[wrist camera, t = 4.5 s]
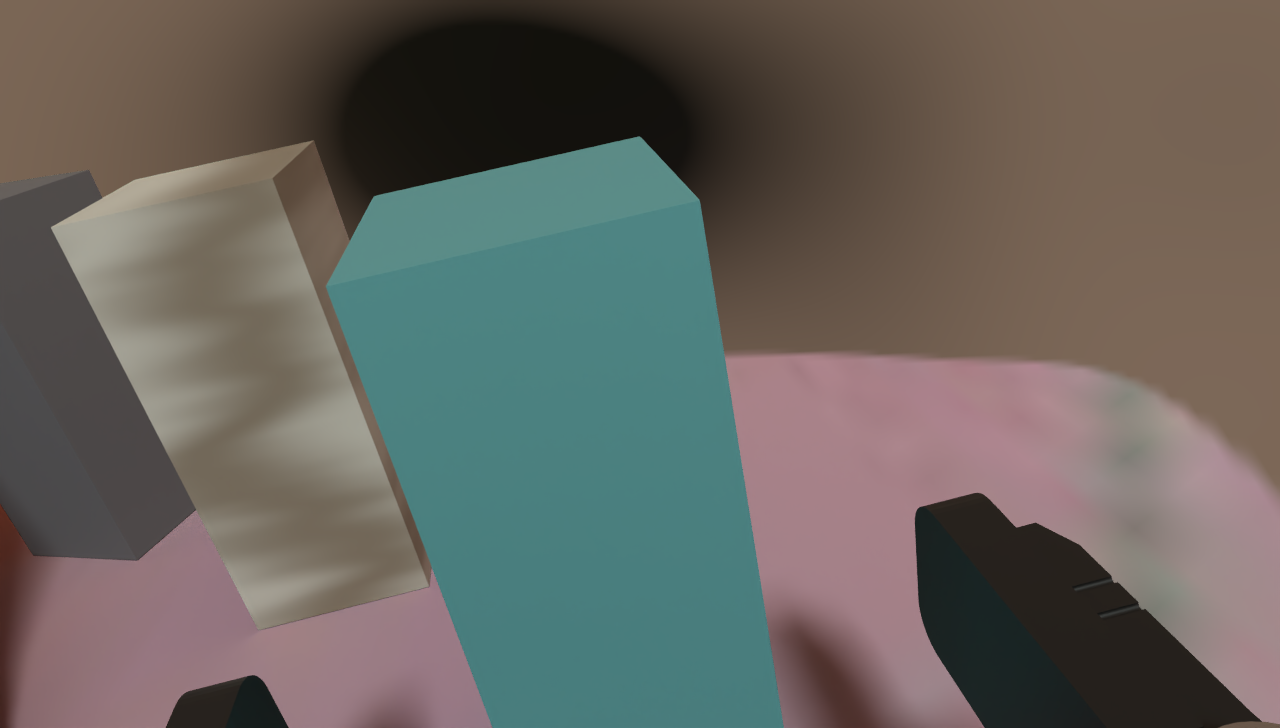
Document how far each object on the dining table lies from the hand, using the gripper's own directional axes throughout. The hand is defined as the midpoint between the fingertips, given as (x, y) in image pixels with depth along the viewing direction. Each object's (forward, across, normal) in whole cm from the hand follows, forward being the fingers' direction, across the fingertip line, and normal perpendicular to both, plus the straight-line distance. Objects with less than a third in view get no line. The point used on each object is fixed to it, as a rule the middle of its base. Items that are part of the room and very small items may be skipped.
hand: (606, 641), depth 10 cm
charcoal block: (+18, +15, +6) cm, 25 cm away
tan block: (+13, +7, +6) cm, 16 cm away
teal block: (+4, 0, +6) cm, 8 cm away
